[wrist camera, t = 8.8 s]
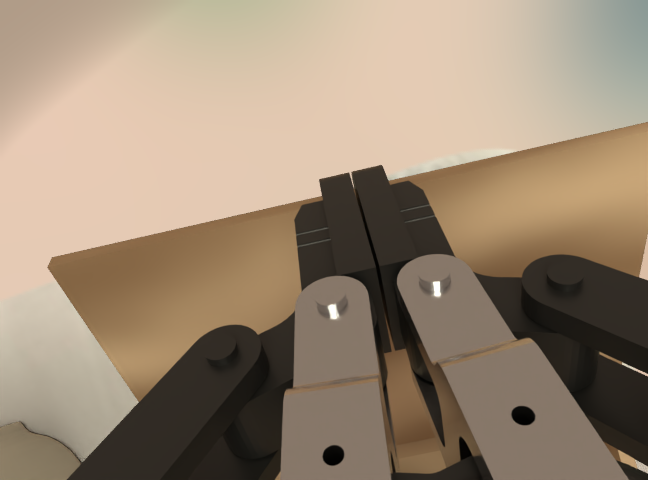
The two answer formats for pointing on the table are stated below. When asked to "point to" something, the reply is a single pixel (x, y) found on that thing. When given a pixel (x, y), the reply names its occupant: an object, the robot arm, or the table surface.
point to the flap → (278, 222)
